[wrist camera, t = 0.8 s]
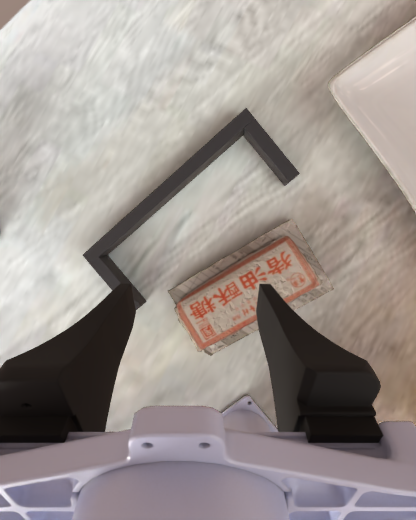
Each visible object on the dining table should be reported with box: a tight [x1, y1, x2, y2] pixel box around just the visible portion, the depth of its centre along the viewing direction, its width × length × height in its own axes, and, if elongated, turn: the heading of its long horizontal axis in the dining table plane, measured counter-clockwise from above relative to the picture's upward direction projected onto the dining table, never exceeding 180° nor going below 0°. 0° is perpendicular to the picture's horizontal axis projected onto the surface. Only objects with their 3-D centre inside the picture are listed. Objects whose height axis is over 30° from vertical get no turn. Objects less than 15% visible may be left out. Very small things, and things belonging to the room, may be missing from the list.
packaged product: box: [168, 218, 334, 356], centre depth 33 cm, size 18×5×10 cm
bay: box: [83, 108, 299, 310], centre depth 34 cm, size 10×26×2 cm, turn 130°
